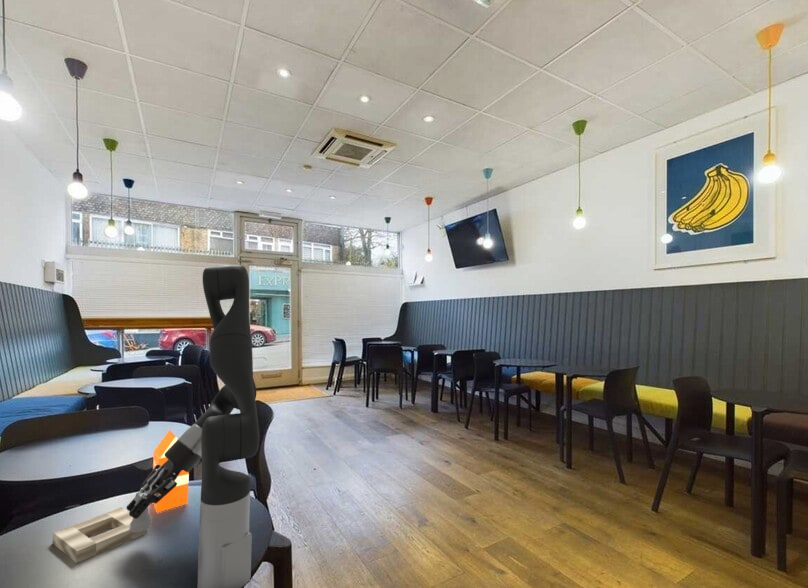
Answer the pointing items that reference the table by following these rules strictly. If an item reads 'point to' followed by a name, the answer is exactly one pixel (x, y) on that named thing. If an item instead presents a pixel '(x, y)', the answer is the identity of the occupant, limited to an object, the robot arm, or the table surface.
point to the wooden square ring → (83, 547)
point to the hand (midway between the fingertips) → (131, 513)
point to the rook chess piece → (141, 517)
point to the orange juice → (180, 492)
